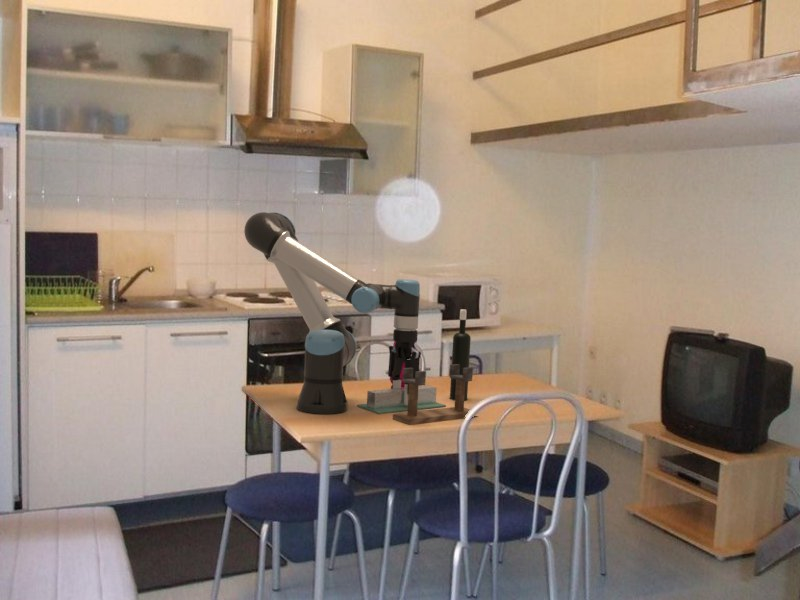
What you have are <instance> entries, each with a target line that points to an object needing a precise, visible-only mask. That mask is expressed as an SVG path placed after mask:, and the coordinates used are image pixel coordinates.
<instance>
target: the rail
mask: <svg viewBox="0 0 800 600" xmlns="http://www.w3.org/2000/svg"><path fill="white" fill-rule="evenodd" d="M404 390H405V388H394V389H391V388H386V389H385V388H384V389H375V390H373V389H372V390H367V393H366V404H367V407H369V408H371V409H384V408H393V407H403V406H408V405H404ZM436 402H437V387H436V386H432V385H429V384H428V385H422V386H418V404H417V405H421V404H431V403H436Z"/></svg>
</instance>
